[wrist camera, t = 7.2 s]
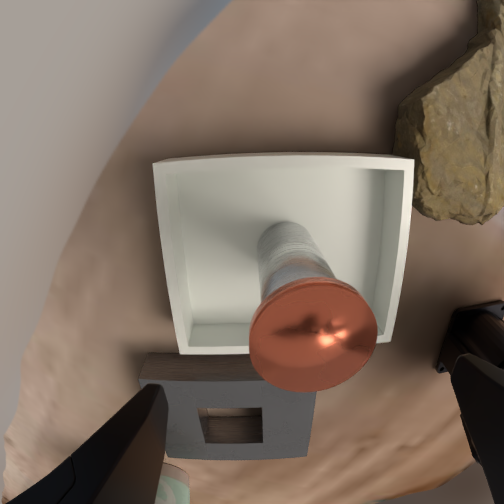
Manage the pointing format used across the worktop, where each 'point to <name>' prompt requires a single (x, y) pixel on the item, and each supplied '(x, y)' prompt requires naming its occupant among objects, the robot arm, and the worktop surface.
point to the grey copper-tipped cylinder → (306, 316)
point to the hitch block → (227, 396)
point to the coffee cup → (173, 486)
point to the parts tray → (265, 215)
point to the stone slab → (459, 129)
